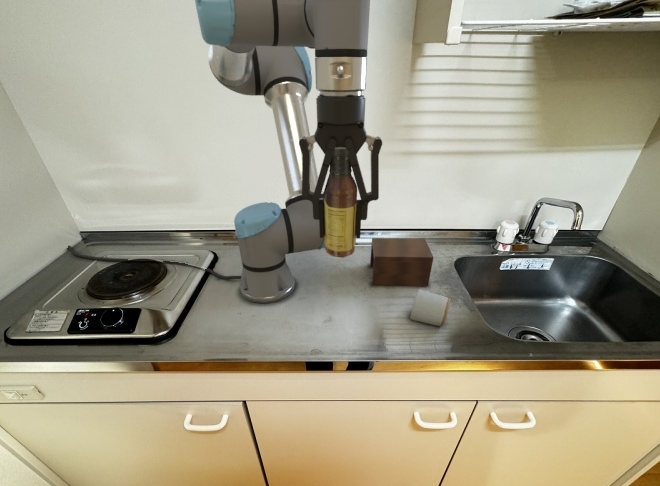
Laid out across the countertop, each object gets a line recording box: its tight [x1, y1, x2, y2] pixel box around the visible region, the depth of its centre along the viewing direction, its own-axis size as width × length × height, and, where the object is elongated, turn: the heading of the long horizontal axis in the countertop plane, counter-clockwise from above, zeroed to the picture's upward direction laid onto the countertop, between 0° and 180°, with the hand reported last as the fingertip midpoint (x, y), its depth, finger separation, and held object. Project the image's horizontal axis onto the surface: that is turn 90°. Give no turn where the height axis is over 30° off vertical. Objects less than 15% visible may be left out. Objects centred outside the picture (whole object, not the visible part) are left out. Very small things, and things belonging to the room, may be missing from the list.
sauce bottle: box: [323, 147, 358, 258], centre depth 58 cm, size 6×6×20 cm
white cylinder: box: [409, 289, 451, 327], centre depth 78 cm, size 11×8×8 cm
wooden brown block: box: [369, 237, 435, 287], centre depth 93 cm, size 16×12×10 cm
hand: (340, 234), depth 61 cm, fingers closed on sauce bottle, 6 cm apart
